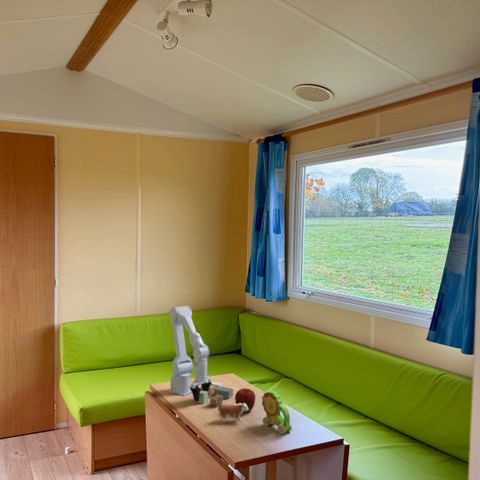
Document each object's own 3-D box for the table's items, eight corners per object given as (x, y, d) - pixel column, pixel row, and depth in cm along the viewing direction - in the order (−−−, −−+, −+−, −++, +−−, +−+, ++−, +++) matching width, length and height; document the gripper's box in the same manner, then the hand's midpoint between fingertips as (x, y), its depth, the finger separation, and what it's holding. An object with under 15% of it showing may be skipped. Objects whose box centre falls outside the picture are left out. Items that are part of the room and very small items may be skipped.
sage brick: (193, 401, 241) (193, 391, 241) (197, 399, 244) (197, 389, 244) (203, 404, 239) (204, 393, 238) (207, 401, 242) (207, 391, 241)
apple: (235, 414, 226) (236, 393, 225) (234, 406, 235) (234, 386, 235) (256, 414, 227) (256, 392, 226) (253, 406, 236) (254, 385, 236)
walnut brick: (216, 408, 234) (216, 399, 234) (210, 406, 235) (210, 398, 235) (222, 404, 239) (222, 395, 239) (216, 402, 241) (216, 394, 241)
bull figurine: (248, 423, 217) (248, 404, 216) (217, 422, 217) (218, 404, 217) (248, 419, 221) (248, 401, 221) (218, 418, 221) (218, 400, 221)
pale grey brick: (208, 390, 257) (208, 383, 257) (212, 388, 260) (212, 381, 260) (218, 392, 254) (218, 385, 254) (221, 390, 257) (222, 383, 257)
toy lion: (292, 432, 208) (293, 396, 207) (282, 435, 205) (283, 399, 204) (267, 420, 221) (268, 386, 220) (258, 422, 217) (259, 388, 217)
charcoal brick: (214, 397, 249) (214, 389, 248) (218, 393, 253) (218, 386, 253) (228, 399, 245) (228, 391, 245) (232, 396, 250) (233, 388, 250)
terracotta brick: (200, 393, 253) (200, 386, 252) (204, 391, 256) (204, 384, 255) (210, 396, 250) (210, 388, 250) (214, 394, 253) (214, 386, 253)
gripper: (199, 376, 233) (199, 404, 233) (215, 368, 245) (215, 395, 246) (187, 374, 236) (187, 402, 237) (203, 366, 249) (203, 393, 249)
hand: (200, 398), depth 241 cm, fingers open, 7 cm apart
